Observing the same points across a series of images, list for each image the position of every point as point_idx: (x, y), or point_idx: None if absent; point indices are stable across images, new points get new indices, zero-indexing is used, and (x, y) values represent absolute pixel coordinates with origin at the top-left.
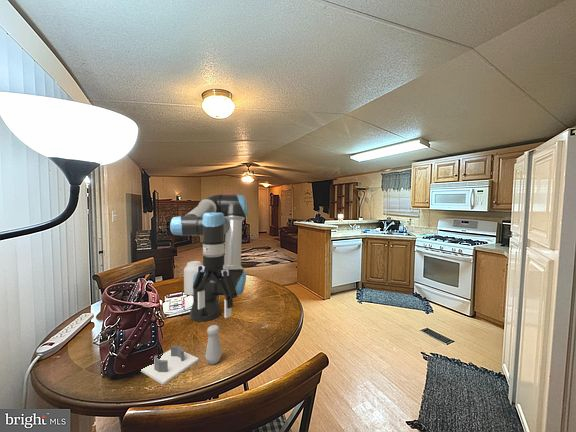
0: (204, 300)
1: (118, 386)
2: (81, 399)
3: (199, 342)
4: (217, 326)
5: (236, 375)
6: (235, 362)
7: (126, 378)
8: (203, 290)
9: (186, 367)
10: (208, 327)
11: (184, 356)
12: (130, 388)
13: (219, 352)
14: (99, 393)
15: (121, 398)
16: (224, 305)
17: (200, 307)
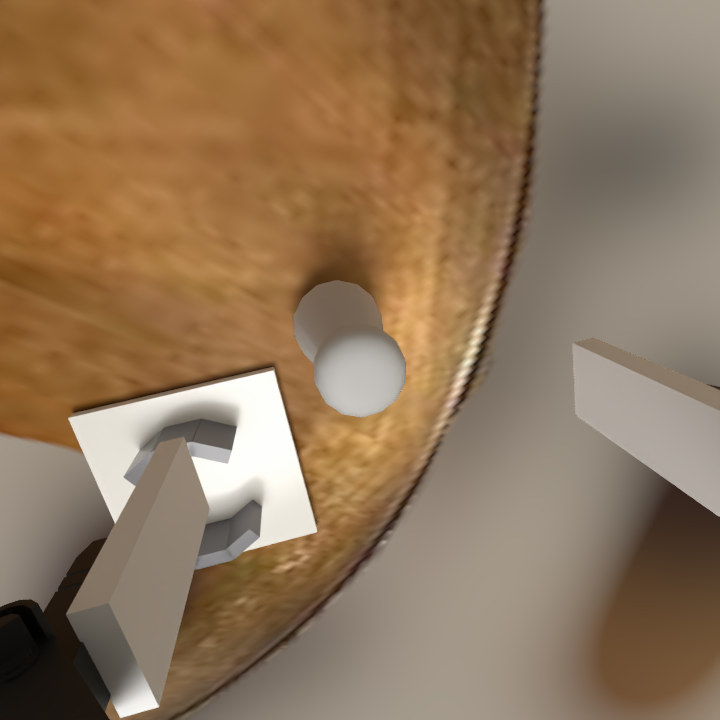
0: (166, 489)
1: (200, 631)
2: (184, 710)
3: (99, 281)
4: (381, 351)
5: (502, 297)
6: (430, 244)
7: None
8: (96, 621)
9: (291, 434)
10: (332, 403)
11: (203, 413)
12: (244, 605)
13: (378, 312)
14: (193, 674)
15: (276, 629)
16: (674, 483)
17: (202, 504)
